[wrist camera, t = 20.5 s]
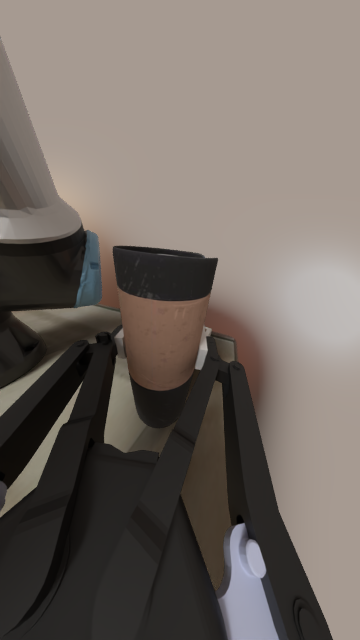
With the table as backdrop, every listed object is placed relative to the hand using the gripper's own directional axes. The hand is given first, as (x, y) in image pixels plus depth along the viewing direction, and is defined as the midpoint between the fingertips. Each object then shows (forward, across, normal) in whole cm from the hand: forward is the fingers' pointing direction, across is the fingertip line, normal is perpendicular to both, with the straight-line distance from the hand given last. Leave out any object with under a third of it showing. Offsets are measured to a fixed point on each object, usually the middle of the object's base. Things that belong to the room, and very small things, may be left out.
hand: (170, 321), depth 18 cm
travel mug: (-5, 0, -11) cm, 12 cm away
